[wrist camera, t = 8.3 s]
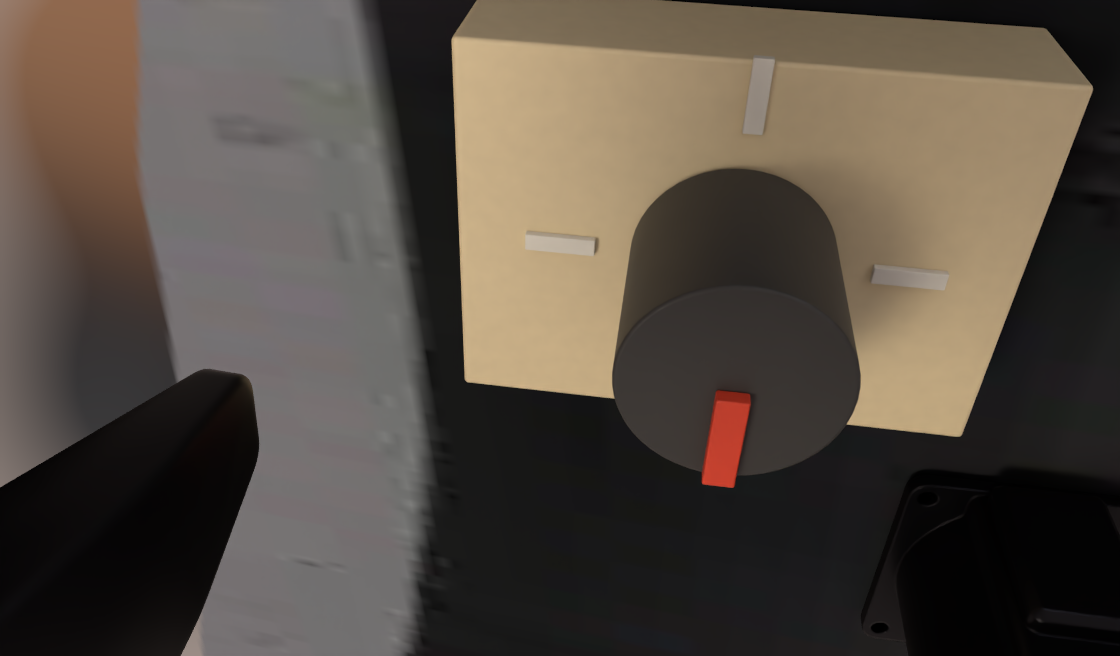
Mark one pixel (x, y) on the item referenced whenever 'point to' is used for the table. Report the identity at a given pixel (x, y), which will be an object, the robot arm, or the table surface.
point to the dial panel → (763, 145)
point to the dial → (735, 327)
